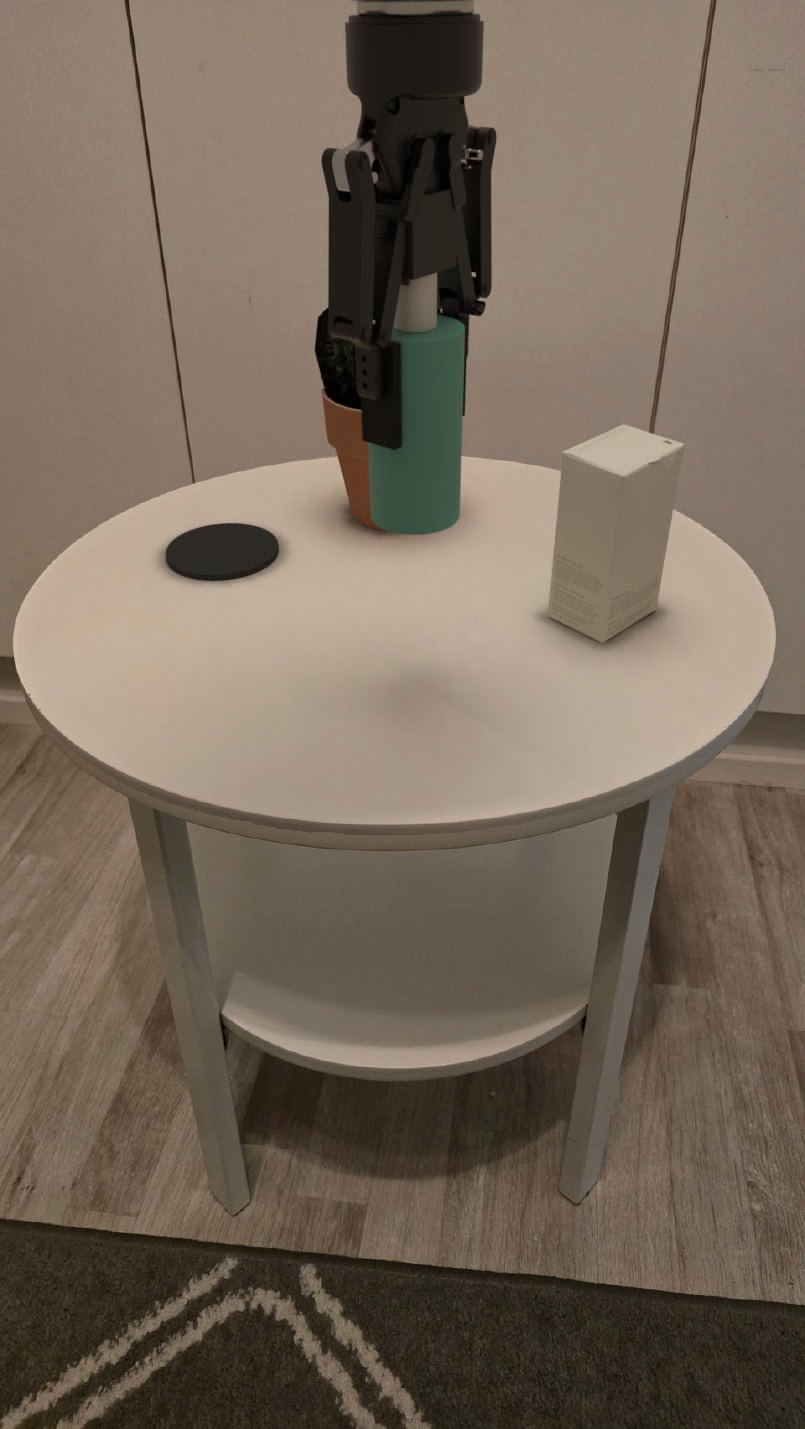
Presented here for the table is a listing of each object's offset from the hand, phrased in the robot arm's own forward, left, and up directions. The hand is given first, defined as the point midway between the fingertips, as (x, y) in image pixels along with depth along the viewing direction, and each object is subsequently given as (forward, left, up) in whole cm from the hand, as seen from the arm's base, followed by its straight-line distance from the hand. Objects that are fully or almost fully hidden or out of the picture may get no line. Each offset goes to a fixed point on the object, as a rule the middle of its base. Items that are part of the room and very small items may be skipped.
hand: (415, 427), depth 67 cm
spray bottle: (0, 0, -6) cm, 6 cm away
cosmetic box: (+18, +7, -21) cm, 29 cm away
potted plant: (+3, +31, -21) cm, 38 cm away
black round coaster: (-15, +25, -21) cm, 36 cm away
